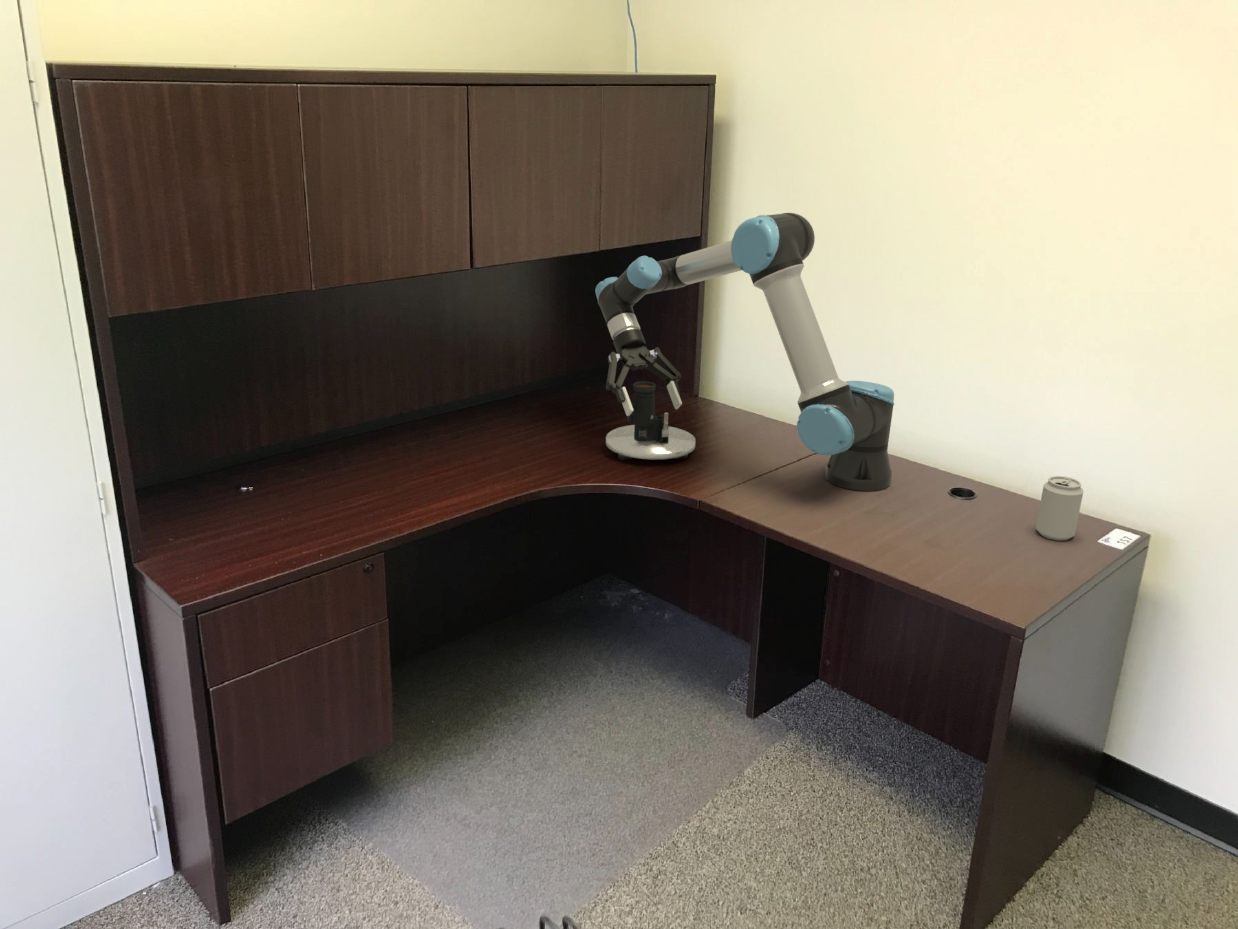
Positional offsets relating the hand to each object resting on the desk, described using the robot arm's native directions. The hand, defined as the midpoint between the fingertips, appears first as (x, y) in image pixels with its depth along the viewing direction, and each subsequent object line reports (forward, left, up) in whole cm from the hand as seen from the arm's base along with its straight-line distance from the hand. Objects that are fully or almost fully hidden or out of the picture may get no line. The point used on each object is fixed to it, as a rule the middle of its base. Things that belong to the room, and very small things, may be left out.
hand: (654, 409), depth 245 cm
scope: (+2, +1, -8) cm, 8 cm away
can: (-85, -37, -11) cm, 93 cm away
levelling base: (+1, 0, -11) cm, 11 cm away
